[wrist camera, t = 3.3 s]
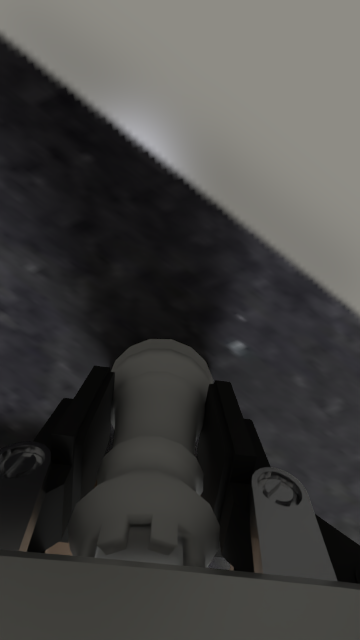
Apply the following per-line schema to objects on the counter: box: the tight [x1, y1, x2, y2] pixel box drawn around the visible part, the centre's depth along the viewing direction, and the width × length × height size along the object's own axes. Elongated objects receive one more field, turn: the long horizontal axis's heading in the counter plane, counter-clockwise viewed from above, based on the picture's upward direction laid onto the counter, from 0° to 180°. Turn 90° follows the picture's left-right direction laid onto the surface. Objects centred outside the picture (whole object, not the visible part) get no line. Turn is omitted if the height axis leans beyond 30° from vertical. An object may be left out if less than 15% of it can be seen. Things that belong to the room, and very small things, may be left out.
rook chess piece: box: [67, 339, 220, 568], centre depth 9 cm, size 4×4×8 cm
